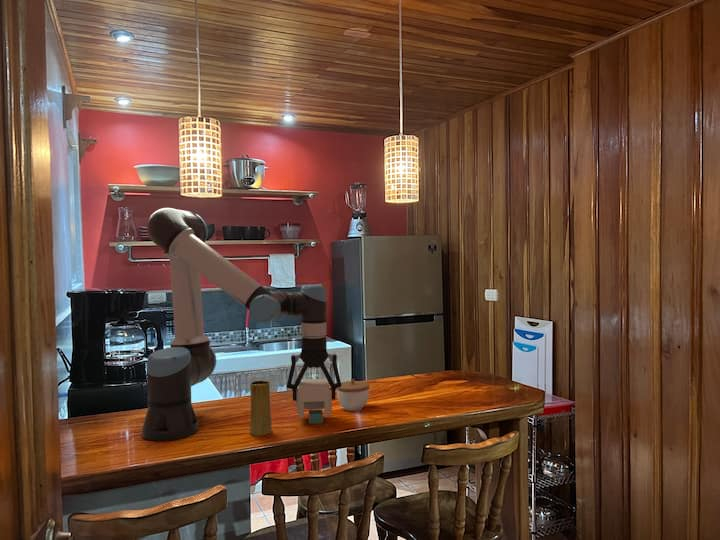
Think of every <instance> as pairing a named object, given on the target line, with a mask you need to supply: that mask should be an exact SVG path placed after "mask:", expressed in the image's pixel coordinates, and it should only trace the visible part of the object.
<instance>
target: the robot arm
mask: <svg viewBox="0 0 720 540" xmlns="http://www.w3.org/2000/svg"><path fill="white" fill-rule="evenodd" d="M146 230H147V231H146V232H147V235H148V237H149V239H150V241H152V243H154V244H155V245H156V247H159V248H160V249H161V250H162V251H163V254H164V256H165V257H166V258H167V259H168V260H169V267H170V281H171V293H172V294H171V295H172V310H173V324H174V325H173V326H174V338H173V339H172V340H171V342H170V343H169V344H170V345H169V346H170V347H165V348H164V349H163V348H162V349H158V350H155V351H154V352H151V353H150V354H149V355H148V357H147V361H146V362H147V364H146V375H147V376H146V377H147V379H146V380H147V381H146V382H147V384H146V385H147V411H146V414H145V417H144V420H143V423H142V426H141V436H142V438H143V439H145V440H148V441H154V442H158V441H159V442H164V441H165V442H166V441H172V440H173V441H174V440H179V439H183V438H186V437H189V436H192V435H193V434H195V433H197V432H198V431H199V421H198V417H197V414H196V412H195V409H194V407H193V403H192V387H193V386H195V385H198V384H199V383H203V382H204V381H205V380H207V379H208V378H209V377H211V375H212V374H213V373H214V371H215V368H216V365H217V356H216V352H215V351H214V349H213V348H212V347H211V345H210V344H211V343H210V338H209V337H208V336H207V335H205V331H204V316H203V314H204V313H203V300H202V298H203V297H202V288H201V275H202V277H203V276H204V278H206V279H208V280H209V282H210V283H213V284H214V285H215V286H216V287H218V288H219V289H220V290H221V291H223V292H225V293H226V294H227V295H228V296H230V297H231V298H233V299H234V300H235V301H236V302H238V304H240V305H242V306H243V307H244V308H246V309H247V310H248V311H249V313H250V315H251V317H252V319H254V320H255V321H256V322H258V323H271V322H273V321H276V320H277V319H281V318H282V317H300V318H301V319H300V320H301V323H300V324H301V327H300V328H301V330H300V333H301V336H302V337H301V345H300V346H301V349H300V350H301V352H300V353H299V354H291V357H290V358H291V365H290V370H289V374H288V379H287V383H286V388H287V389H290V390H291V391H292V401H293V402H296V413H298V414H299V383H300V381H301V379H303V377H304V376H305V373H306V372H307V369H308V368H310V369H312V368H320V369H321V371H322V373H323V375H324V376H325V379H327V380H328V382H329V386H330V413H331V412H332V409H333V406H332V405H333V403H332V401H334V400H336V391H337V389H336V388H338V387H341V382H342V381H341V378H340V373H339V370H338V365H337V364H338V363H337V360H338V359H337V358H338V356H337V353H332V354H331V353H328V351H327V349H328V348H327V344H328V343H327V337H326V335H327V303H328V302H327V301H328V299H327V287H325V286H324V285H323V284H304V285H302V286H301V288H300V290H299V291H283V290H282V291H280V290H279V291H276V290H271V291H270V290H268V289H267V288H266V287H264V286H263V285H262V284H260V283H259V282H257V281H256V280H255V279H254V278H252V277H251V276H250V275H248V274H247V273H246V272H244V271H243V270H242V269H240V268H239V267H238V266H236V265H235V264H234V263H232V262H231V261H230V260H228V259H227V258H225V257H224V256H222V254H220V253H219V252H217V251H216V250H215V249H213V248H212V247H211V246H210V245H208V244H207V243H205V242H206V241H207V238H208V234H209V230H208V225H207V223H206V221H205V220H204V219H203V218H202V217H201V216H200V215H199V214H197V213H195V212H194V211H189V210H182V209H176V208H172V207H163V208H159V209H158V210H156V211H154V212H153V213H152V214H151V215H150V216H149V219H148V221H147V223H146ZM299 359H300V360H301V361H302V363H303V365H302V367H301V369H300V372H299V373H298V375H297V377H296V379H295V381H294V383H292V382H293V378H294V374H295V373H294V372H295V370H296V366H297V363H298V362H299ZM327 359H329V362H332V363H331V365H332V368H333V373H334V377H335V382H334V380H333V378H332V376H331V374H330V372H329V371H328V368H327V366H326V365H325V362H326V361H327Z"/></svg>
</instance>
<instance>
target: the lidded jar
mask: <svg viewBox="0 0 720 540" xmlns="http://www.w3.org/2000/svg"><path fill="white" fill-rule="evenodd" d="M369 394H370V384H369V383H368V382H365V381H361V380H355V379H353V378H352V379H351V380H346V381H341V387H338V388H336V397H337V400H338V403H339V404H340V406H341V408H343V410H345V411H349V412H356V411H360V410H361V411H362V409H363V407H365V406H366V404H367V402H368V399H369Z"/></svg>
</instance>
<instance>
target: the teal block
mask: <svg viewBox="0 0 720 540" xmlns="http://www.w3.org/2000/svg"><path fill="white" fill-rule="evenodd" d="M323 416H324V413H323V409H308V423H309V424H311V423H314V424H323V423H324V418H323ZM311 425H312V424H311Z"/></svg>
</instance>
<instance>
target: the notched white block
mask: <svg viewBox="0 0 720 540" xmlns="http://www.w3.org/2000/svg"><path fill="white" fill-rule="evenodd" d="M330 388H331V386H330V384H329V382H328V380H327V379H326V378H310V379H309V378H308V379H307V378H305V379H303V378H302V379H301V381H300V383H299V385H298V389H299V413H298V418H305V410H324V411H323V412H324V413H323V416H324V418H325V417H330V413H331V412H330Z"/></svg>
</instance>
